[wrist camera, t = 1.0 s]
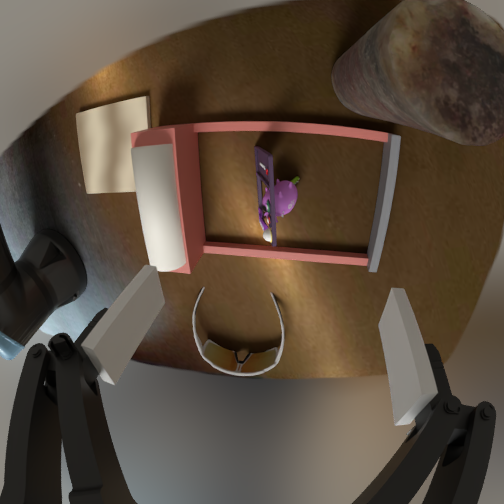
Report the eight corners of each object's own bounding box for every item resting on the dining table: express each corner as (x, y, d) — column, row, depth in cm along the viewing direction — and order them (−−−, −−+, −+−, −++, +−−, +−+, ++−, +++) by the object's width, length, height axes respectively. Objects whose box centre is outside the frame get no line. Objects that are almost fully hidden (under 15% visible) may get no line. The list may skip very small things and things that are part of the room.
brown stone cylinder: (402, 116, 23) (532, 152, 6) (338, 121, 25) (407, 151, 8) (388, 50, 20) (501, -2, 3) (322, 54, 22) (358, -34, 5)
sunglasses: (205, 350, 47) (196, 369, 43) (195, 278, 42) (183, 294, 37) (283, 360, 45) (280, 380, 40) (288, 285, 39) (286, 303, 35)
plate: (90, 191, 34) (87, 193, 34) (79, 113, 28) (75, 113, 28) (157, 189, 33) (154, 191, 32) (149, 95, 27) (145, 96, 26)
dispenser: (172, 245, 37) (144, 279, 30) (158, 126, 28) (117, 136, 21) (372, 261, 32) (386, 302, 26) (393, 133, 24) (423, 144, 17)
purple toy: (259, 155, 22) (265, 248, 27) (316, 152, 23) (315, 241, 27) (247, 146, 28) (253, 222, 33) (293, 143, 29) (295, 216, 33)
